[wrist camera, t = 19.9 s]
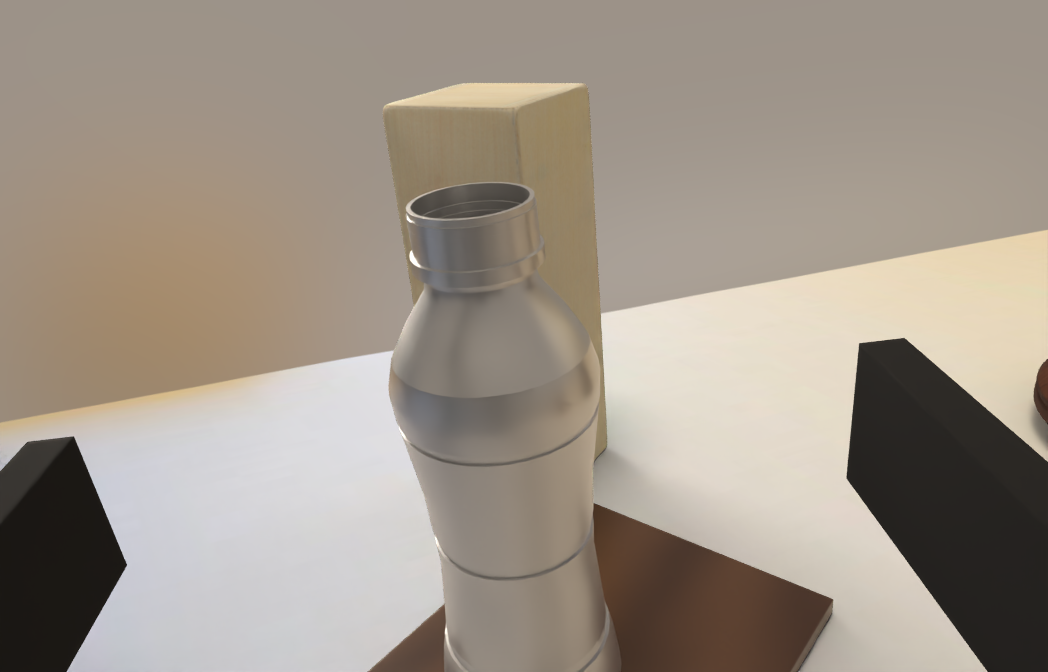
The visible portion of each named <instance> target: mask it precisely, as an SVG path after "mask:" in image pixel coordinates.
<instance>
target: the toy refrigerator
mask: <svg viewBox="0 0 1048 672" xmlns="http://www.w3.org/2000/svg"><path fill="white" fill-rule="evenodd" d="M383 120H384V127H385V133H386V139H387V145H388V151H389V157H390V163H391V169H392V175H393V181H394V187H395V193H396V200H397V206H398V212H399V218H400V223H401V230H402V235H403V242H404V248H405V254H406V260H407V266H408V272H409V279H410V283H411V291H412V297H413V303H414V306H415V305H416V303H417V301H418V299H419V297H420V296H421V294H422V292H423V290H424V283H423V282H421V281H419V280H417V279H416V278H415V277H414V276H413V274H412V269H411V264H410V258H409V255H410V252H411V251H412V249H411V243H410V237H409V231H408V226H407V220H406V213H407V212H406V206H407V204H408V203H409V202H410V201H411V200H413V199H414V198H416V197H418V196H420V195H422V194H425V193H428V192H431V191H434V190H437V189H441V188H445V187H450V186H454V185H461V184H467V183H477V182H509V183H516V184H521V185H525V186H527V187H529V188H531V189H532V190H533V191H534V195H535V198H536V201H537V211H538V221H539V231H540V235H541V236H542V237H543V238H544V245H545V255H546V258H545V260H544V263H543V264H542V265H541V266H540V267H539V268H537V270H538V273H539V275H540V276H541V278H542V279H543V280H544V281H545V282H546V283H547V284H548V285H549V286H550V287H551V288H552V289H553V290H554V291H555V292H556V293H557V294H558V295H559V296H560V297H561V298H562V299H563V300H564V301H565V303H566V304H567V305H568V306H569V308H570V309H571V310H572V312H573V313H574V314H575V315H576V317H577V318H578V319H579V321H580V322H581V323H582V324H583V326H584V327H585V329H586V330H587V332H588V333H589V336H590V338H591V341H592V344H593V346H594V349H595V351H596V354H597V356H598V359H599V364H600V398H599V410H598V421H597V432H596V443H595V454H594V460H595V459H596V458H597V457H598V456H599V455H600V454H601V453H602V452H603V450H604V449H605V448H606V447H607V425H606V405H605V387H604V367H603V349H602V331H601V313H600V294H599V278H598V259H597V242H596V224H595V204H594V180H593V166H592V165H593V163H592V145H591V125H590V107H589V94H588V88H587V86H586V85H585V84H581V83H579V84H578V83H561V84H560V83H465V84H458V85H454V86H450V87H447V88H443V89H440V90H436V91H432V92H429V93H425V94H422V95H419V96H414V97H411V98H407V99H404V100H400V101H396V102H393V103H390V104H387V105H385V106H384V108H383Z"/></svg>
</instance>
